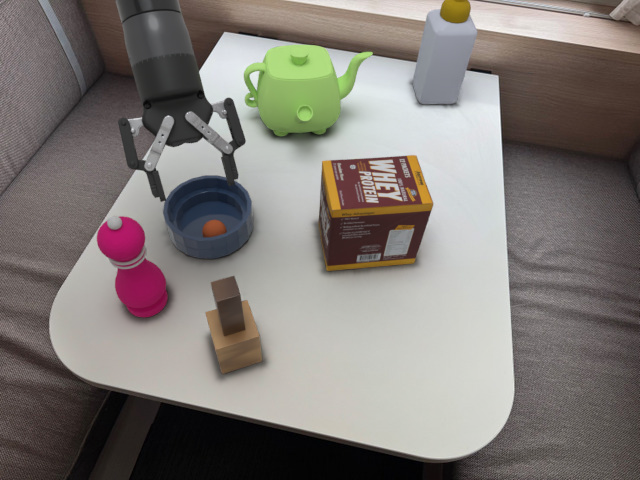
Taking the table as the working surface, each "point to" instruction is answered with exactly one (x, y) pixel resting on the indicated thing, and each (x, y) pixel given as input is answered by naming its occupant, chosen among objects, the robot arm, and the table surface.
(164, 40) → the robot arm
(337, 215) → the supplement box
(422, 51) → the soap bottle
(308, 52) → the teapot
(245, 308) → the light wooden block
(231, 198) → the bowl
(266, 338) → the table surface
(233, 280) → the tall bronze square pillar
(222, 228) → the ball
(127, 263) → the pepper mill
